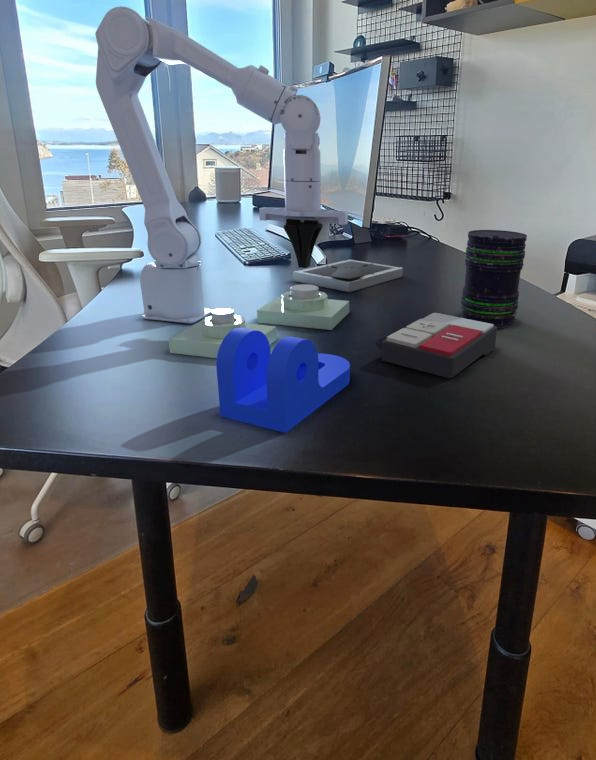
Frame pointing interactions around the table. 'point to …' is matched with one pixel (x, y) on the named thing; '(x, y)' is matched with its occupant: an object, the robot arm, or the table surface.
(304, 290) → the full button
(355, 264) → the picture frame
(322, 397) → the bracket
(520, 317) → the table surface
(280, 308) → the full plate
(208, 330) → the pale green button base
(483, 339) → the calculator
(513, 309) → the storage jar
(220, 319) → the half button
